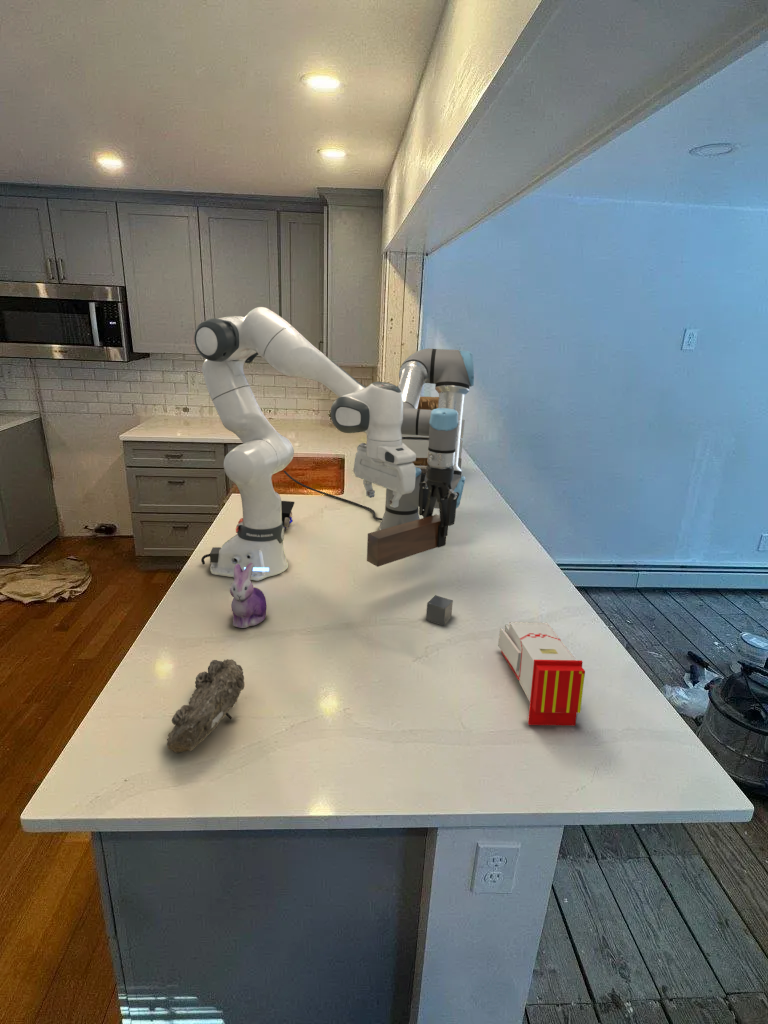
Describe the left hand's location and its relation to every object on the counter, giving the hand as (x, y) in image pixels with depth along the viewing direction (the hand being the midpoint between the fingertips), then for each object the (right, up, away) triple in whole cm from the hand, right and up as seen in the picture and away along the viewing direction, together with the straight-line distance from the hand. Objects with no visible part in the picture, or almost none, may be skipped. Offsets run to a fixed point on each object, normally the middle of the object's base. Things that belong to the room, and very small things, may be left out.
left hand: (381, 501), depth 146 cm
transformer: (+18, +16, +129) cm, 131 cm away
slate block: (+15, -30, 0) cm, 34 cm away
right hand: (+15, -12, +19) cm, 27 cm away
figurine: (-33, -30, -4) cm, 45 cm away
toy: (+33, -40, -24) cm, 56 cm away
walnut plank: (+7, -14, +12) cm, 20 cm away
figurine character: (-35, -8, +56) cm, 67 cm away
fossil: (-32, -42, -38) cm, 65 cm away
